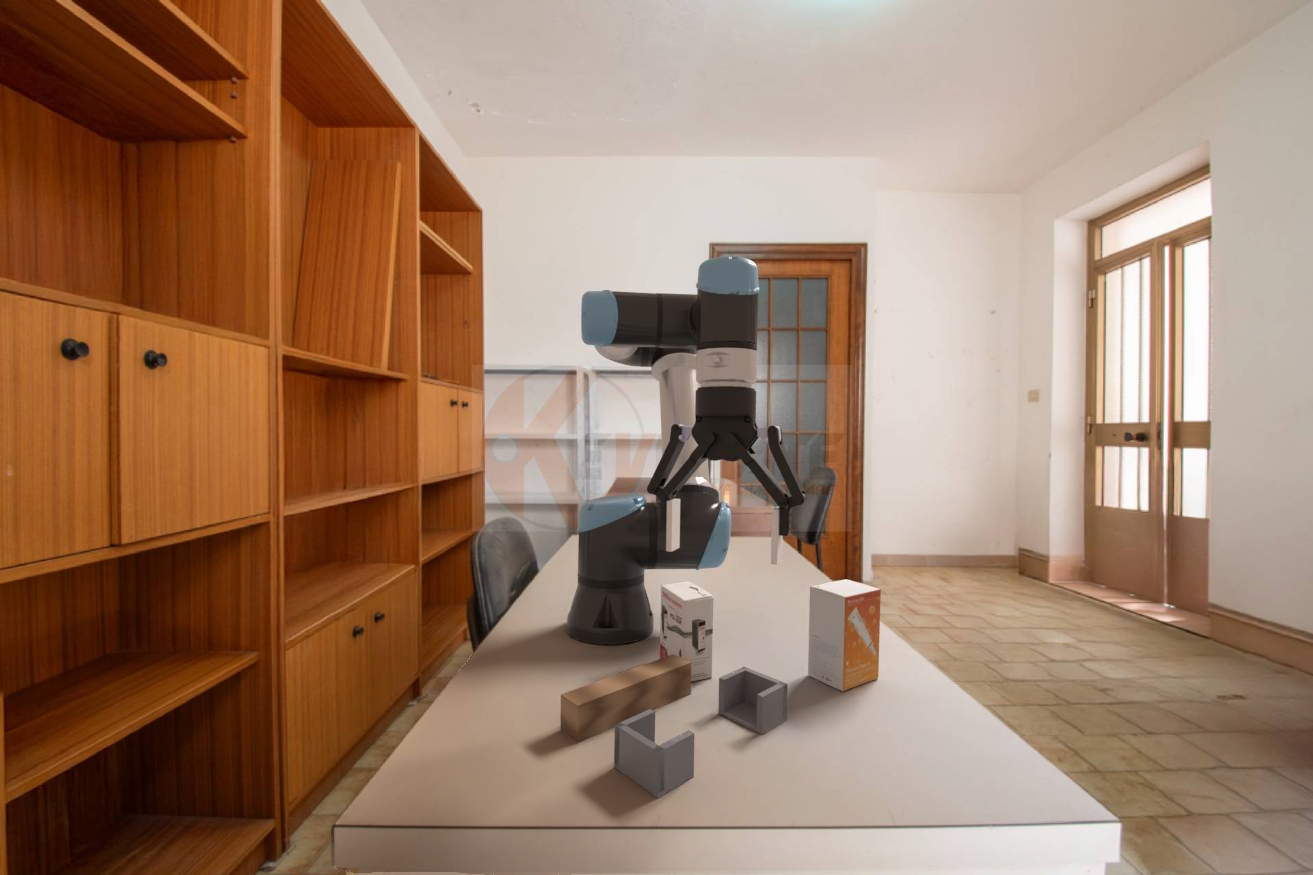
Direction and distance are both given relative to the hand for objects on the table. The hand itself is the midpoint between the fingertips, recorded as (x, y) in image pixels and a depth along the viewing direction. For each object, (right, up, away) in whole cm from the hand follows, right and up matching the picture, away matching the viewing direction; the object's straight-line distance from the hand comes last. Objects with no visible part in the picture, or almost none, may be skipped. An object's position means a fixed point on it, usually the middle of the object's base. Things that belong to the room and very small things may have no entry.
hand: (722, 555), depth 70 cm
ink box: (-4, -19, +12) cm, 23 cm away
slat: (-12, -20, -1) cm, 23 cm away
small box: (+18, -20, +10) cm, 29 cm away
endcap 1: (-9, -19, -13) cm, 25 cm away
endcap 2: (+3, -19, -2) cm, 20 cm away
